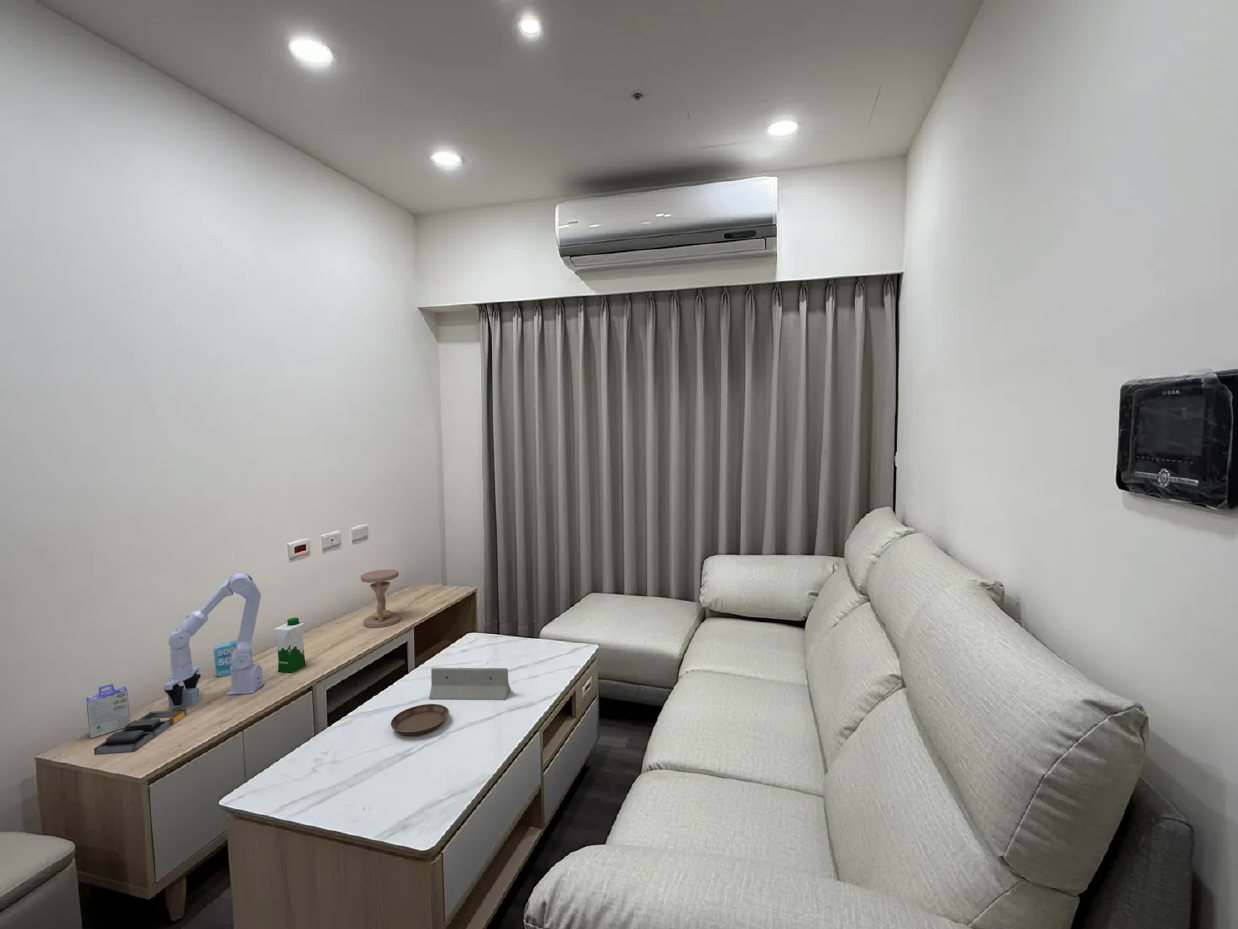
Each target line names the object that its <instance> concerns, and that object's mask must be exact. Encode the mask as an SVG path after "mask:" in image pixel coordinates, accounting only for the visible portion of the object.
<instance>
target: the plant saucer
mask: <svg viewBox="0 0 1238 929" xmlns="http://www.w3.org/2000/svg"><path fill="white" fill-rule="evenodd" d="M449 710H450V709H449V708H448V707H446V706H445V705H443V704H436V703H425V704H420V705H415V706H412V707H409V708H406V709H404V710H401V712H398V713H397V714H396V715H395V716H393V718H392V719H391V721H390V726H391V728H392V730H394V732H396V733H397V734H398V735H400V736H402V737H408V738H414V737H415V738H416V737H421V736H425V735H428V734H431V733H432V732H435V731H436V730H439V728H441V727H442V726H443V724H444V723H445V722H446V721H447V719H448V716H449V714H450V711H449Z"/></svg>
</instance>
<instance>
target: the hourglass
mask: <svg viewBox="0 0 1238 929" xmlns="http://www.w3.org/2000/svg"><path fill="white" fill-rule="evenodd" d="M398 577H399V571H398V570H397V569H379V570H373V571H368V572H366V573H363V574H361V575H360V581H361V582H362V583H370V585H369V586H370V588H371V589H372V590H373V592H374V593H375V597H376V600H377V605H376V611H375V612H373V613H372V614H371V615H370V616H367V617H365V618H364V619H363V620H362V621H363V626H364V627H365V628H369V629H379V628H386V627H390V626H393V625H395V624H397V623H399V622H400V621H401V620H402V616H401V614H400V613H399V612H394V611H393V612H392V611H391V610H388V609H386V602H387V600H386V597H385V593H386V592H387V590H388V589H389V587H390V585H391V582H390V581H391V580H395V579H396V578H398Z"/></svg>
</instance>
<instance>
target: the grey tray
mask: <svg viewBox="0 0 1238 929" xmlns="http://www.w3.org/2000/svg"><path fill="white" fill-rule="evenodd" d="M186 715H187V709H171V710H158V711H157V710H156V711H155V710H154V711H149V712H148V713H146V714H144V715H142V717H140V718H138V719H137V720H132V721H130V723H129V724H128V725H126V726H125V728H122V729H121V730H120V731H116V732H114V733H112V734H111V735H110V736H108V737H106V738H105V741H104V742H102V743H101V744H99V745H97V746H96V747H94V748H93V752H94V755H102V754H103V755H104V754H115V753H129V752H130V753H131V752H136V751H138V750H139V749H141V748H142V747H143V746H145V745H146V744H147V743H149V742H150V741H152V740H154V738H156V737H158V736H159V735H160V734H161V733H163V732H164V731H166V730H167V729H168V728H170V727H171V726H172V725H175V724H176V723H178V722H179V721H180V720H182V719H183V718H185V716H186ZM160 718H169V719H164V720H163V719H162V720H161V719H160Z"/></svg>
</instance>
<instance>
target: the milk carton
mask: <svg viewBox="0 0 1238 929" xmlns="http://www.w3.org/2000/svg"><path fill="white" fill-rule="evenodd" d="M299 620H300V619H299V617H292V618H291V617H290V618H288V619H287V623H285V624H284V623H283V624H281V625H280V626H278V627H274V628H273V631H274V635H275V638H276V644H277V659H278V661H277V664H278V665H277V673H289V674H293V673H295V672H297V671H298V670H300V669H302V668H304V667H307V664H306V657H305V649H304V648H305V646H304V645H305V644H304V643H305V642H304V628H305V622H300V621H299Z"/></svg>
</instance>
